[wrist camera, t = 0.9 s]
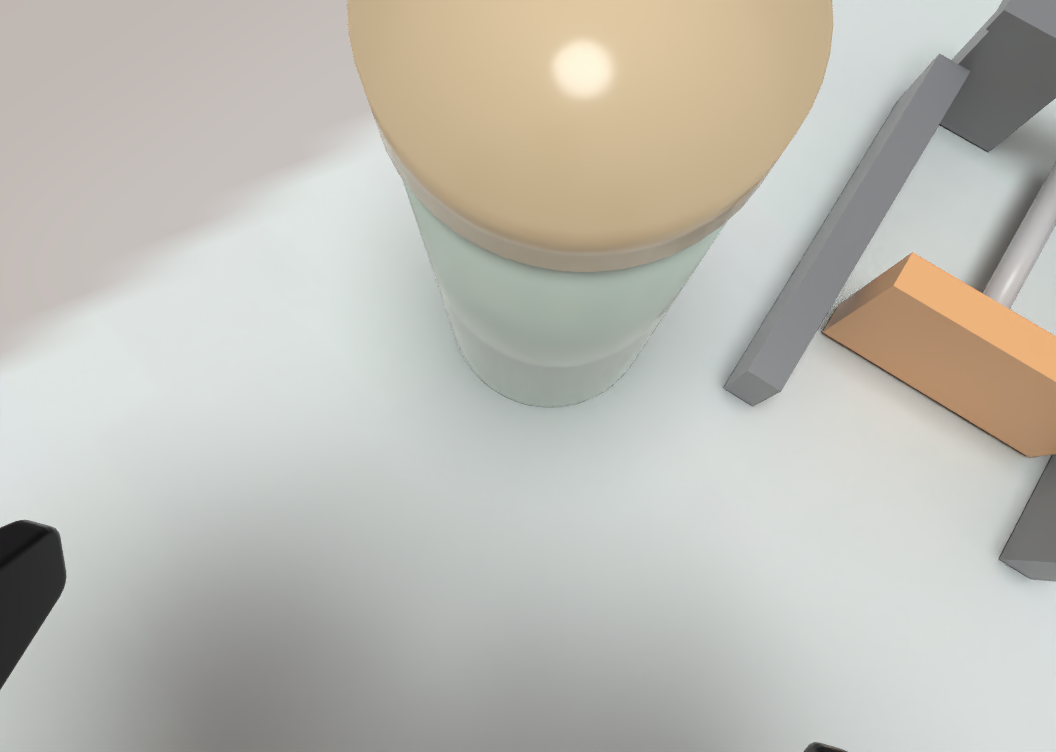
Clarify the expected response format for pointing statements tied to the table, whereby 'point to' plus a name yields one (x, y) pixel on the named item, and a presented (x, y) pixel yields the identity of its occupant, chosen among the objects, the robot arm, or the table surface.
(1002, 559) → the grey bracket
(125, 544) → the table surface
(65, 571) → the robot arm
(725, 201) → the jar
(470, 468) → the table surface
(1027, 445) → the pusher
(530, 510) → the table surface
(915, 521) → the table surface
